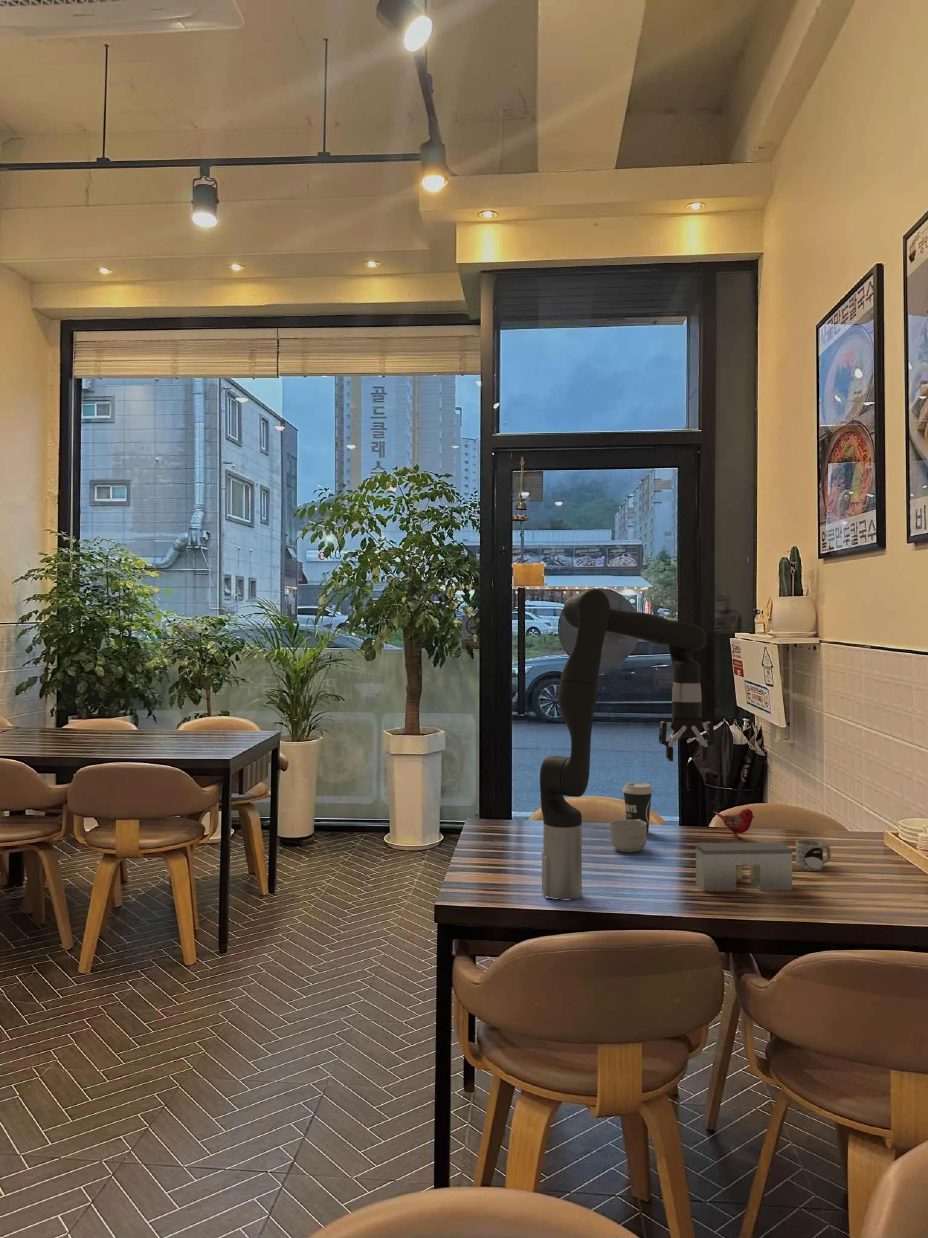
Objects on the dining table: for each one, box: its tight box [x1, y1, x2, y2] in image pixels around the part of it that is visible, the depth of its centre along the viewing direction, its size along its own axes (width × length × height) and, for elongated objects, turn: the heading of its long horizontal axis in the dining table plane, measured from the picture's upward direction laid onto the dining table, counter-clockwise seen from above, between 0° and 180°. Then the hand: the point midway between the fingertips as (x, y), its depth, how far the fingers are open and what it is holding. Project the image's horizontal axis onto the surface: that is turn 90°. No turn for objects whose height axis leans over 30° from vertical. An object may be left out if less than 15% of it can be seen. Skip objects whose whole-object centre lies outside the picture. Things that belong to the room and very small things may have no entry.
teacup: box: [608, 819, 648, 853], centre depth 237 cm, size 14×11×8 cm
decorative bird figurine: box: [713, 808, 755, 840], centre depth 250 cm, size 3×18×10 cm, turn 24°
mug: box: [795, 839, 832, 872], centre depth 219 cm, size 10×7×7 cm
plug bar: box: [697, 841, 743, 881], centre depth 218 cm, size 4×22×4 cm, turn 2°
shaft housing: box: [695, 842, 793, 892], centre depth 202 cm, size 22×6×10 cm, turn 93°
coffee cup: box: [621, 782, 654, 835], centre depth 256 cm, size 10×10×15 cm
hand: (686, 761), depth 216 cm, fingers open, 8 cm apart
